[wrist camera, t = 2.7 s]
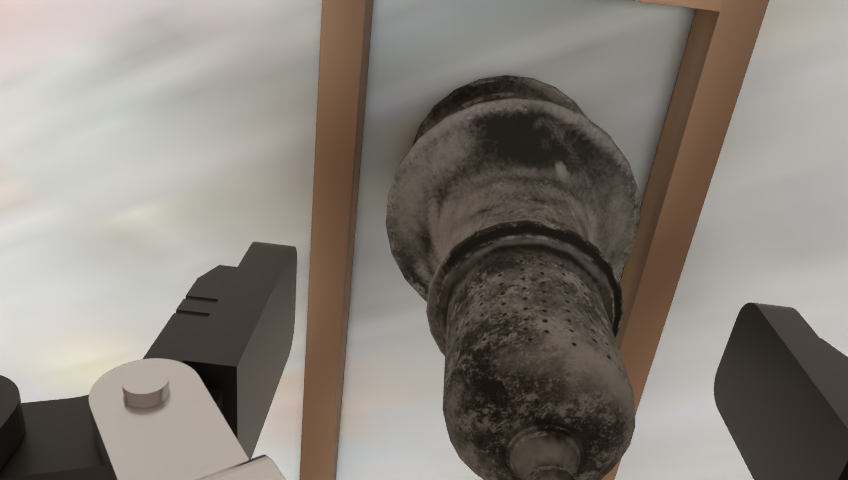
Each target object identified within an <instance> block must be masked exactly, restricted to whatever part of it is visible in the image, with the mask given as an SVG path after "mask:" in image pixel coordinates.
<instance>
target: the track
mask: <svg viewBox="0 0 848 480" xmlns="http://www.w3.org/2000/svg"><path fill="white" fill-rule="evenodd" d="M635 1H642V2H650V3H658V4H666V5H674V6H681V7H689V8H697V9H696V12H695V16H694V20H693V23H692V27H691V30H690V34H689V37H688V41H687V45H686V48H685V52H684V55H683V59H682V63H681V66H680V70H679V73H678V77H677V80H676V84H675V88H674V91H673V95H672V98H671V102H670V105H669V109H668V113H667V116H666V120H665V123H664V127H663V130H662V134H661V138H660V141H659V145H658V148H657V152H656V156H655V159H654V163H653V166H652V170H651V173H650V177H649V181H648V184H647V188H646V191H645V195H644V198H643V202H642V206H641V209H640V224H639V228H638V232H637V236H636V239H635V243H634V247H633V251H632V253H631V255H630V257H629V258H628V260H627V262H626V264H625V266H624V270H623V274H622V277H621V281H620V287H621V289H622V300H623V315H622V319H621V323H620V327H619V331H618V335H617V336H616V338H615V339H616V342H617V345H618V348H619V351H620V354H621V356H622V359H623V362H624V365H625V368H626V371H627V374H628V377H629V380H630V383H631V386H632V389H633V391H634V404H635V414H636V411H637V408H638V405H639V402H640V399H641V396H642V393H643V389H644V386H645V383H646V380H647V377H648V374H649V371H650V368H651V365H652V362H653V358H654V355H655V352H656V349H657V346H658V343H659V340H660V337H661V334H662V331H663V327H664V324H665V321H666V318H667V315H668V312H669V309H670V306H671V303H672V300H673V297H674V293H675V290H676V287H677V284H678V281H679V278H680V275H681V272H682V269H683V266H684V262H685V259H686V256H687V253H688V250H689V247H690V244H691V241H692V238H693V235H694V231H695V228H696V225H697V222H698V219H699V216H700V213H701V210H702V207H703V204H704V200H705V197H706V194H707V191H708V188H709V185H710V182H711V179H712V176H713V173H714V170H715V166H716V163H717V160H718V157H719V154H720V151H721V148H722V145H723V142H724V139H725V135H726V132H727V129H728V126H729V123H730V120H731V117H732V114H733V111H734V108H735V104H736V101H737V98H738V95H739V92H740V89H741V86H742V83H743V80H744V77H745V74H746V70H747V67H748V64H749V61H750V58H751V55H752V52H753V49H754V46H755V43H756V39H757V36H758V33H759V30H760V27H761V24H762V21H763V18H764V15H765V12H766V8H767V5H768V2H769V0H635ZM372 10H373V0H322V18H321V39H320V60H319V81H318V102H317V123H316V144H315V166H314V187H313V208H312V229H311V250H310V271H309V292H308V314H307V335H306V356H305V377H304V398H303V419H302V440H301V462H300V480H336V468H337V455H338V442H339V429H340V417H341V404H342V391H343V379H344V366H345V353H346V341H347V328H348V315H349V302H350V290H351V277H352V264H353V252H354V239H355V226H356V214H357V201H358V188H359V175H360V163H361V150H362V137H363V125H364V112H365V99H366V87H367V74H368V61H369V48H370V36H371V23H372ZM620 461H621V459H620ZM620 461H619V462H618V463H617V464H616V466H615V467H614V468H613V469H612V470H611V471H610V472H609V473H608V474H607V475H606V476H604V477H603V478H602V479H601V480H614V479H615V476H616V473H617V470H618V467H619V464H620Z"/></svg>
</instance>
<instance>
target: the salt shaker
mask: <svg viewBox="0 0 848 480" xmlns="http://www.w3.org/2000/svg"><path fill="white" fill-rule="evenodd" d="M639 224H640V211H639V191H638V188H637V185H636V182H635V179H634V176H633V174H632V171H631V168H630V165H629V162H628V161H627V159H626V158H625V156H624V155H623V154H622V152H621V151H620V150H619V148H618V147H617V146H616V144H615V143H614V141H613V140H612V139H611V137H610V136H609V135H608V134H607V133H606V132H604V131H603V130H602V129H600V128H599V127H598V126H596V125H595V124H594V123H592V122H591V121H590V120H589V119H587V118H586V116H585V115H584V114H583V112H582V111H581V110H580V108H579V107H578V105H577V104H576V103H575V102H574V101H572V100H571V99H570V98H568V97H567V96H566V95H565V94H563V93H562V92H561V91H559V90H558V89H557V88H555V87H552V86H550V85H547V84H545V83H542V82H540V81H537V80H535V79H532V78H525V77H515V76H506V75H505V76H498V77H492V78H485V79H479V80H477V81H474V82H472V83H470V84H468V85H465V86H463V87H461V88H458V89H456V90H454V91H453V92H452V93H451V94H449V95H448V96H447V97H446V98H444V99H443V100H442V101H440V102H439V103H438V104H437V105H435V106H434V108H433V109H432V111H431V112H430V113H429V115H428V116H427V117H426V119H425V120H424V121H423V123H422V124H421V125H420V127H419V130H418V133H417V135H416V138H415V140H414V143H413V146H412V148H411V150H410V151H409V152H408V154H407V155H406V156H405V158H404V159H403V160H402V162H401V163H400V165H399V167H398V170H397V173H396V175H395V178H394V180H393V183H392V186H391V188H390V191H389V194H388V204H387V216H386V228H387V233H388V238H389V242H390V247H391V252H392V255H393V257H394V259H395V261H396V262H397V264H398V266H399V268H400V270H401V272H402V274H403V276H404V278H405V279H406V280H407V282H408V283H409V284H410V285H411V286H412V287H413V288H414V289H415V290H416V291H417V292H418V293H419V294H420V295H421V297H422V298H423V299H424V300H425V301H427V311H426V312H427V317H428V321H429V326H430V331H431V334H432V336H433V338H434V340H435V341H436V343H437V345H438V347H439V349H440V351H441V352H442V353H443V354H444V356H445V373H444V396H443V412H444V417H445V422H446V427H447V431H448V434H449V438H450V441H451V443H452V445H453V447H454V448H455V450H456V452H457V454H458V455H459V457H460V459H461V460H462V461H463V462H464V463H465V464H466V465H467V466H468V467H469V468H470V469H471V470H472V471H473V472H474V473H475V474H477V475H478V476H480V477H481V478H482V479H484V480H601V479H602V478H603V477H604V476H606V475H607V474H608V473H609V472H610V471H611V470H612V469H613V468H614V467H615V466H616V464H617V463H618V462H619V461H620V459H621V458H622V456H623V455H624V453H625V452H626V450H627V448H628V447H629V445H630V442H631V439H632V435H633V432H634V428H635V404H634V391H633V389H632V386H631V383H630V380H629V377H628V374H627V371H626V368H625V365H624V362H623V359H622V356H621V354H620V351H619V348H618V345H617V342H616V339H615V338H616V336H617V335H618V331H619V327H620V323H621V319H622V315H623V300H622V289H621V287H620V284H619V281H618V279H617V277H618V276H619V274H620V272H621V270H622V269H623V267H624V265H625V264H626V262H627V260H628V258H629V257H630V255H631V253H632V251H633V247H634V243H635V239H636V236H637V232H638V228H639Z"/></svg>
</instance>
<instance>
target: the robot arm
mask: <svg viewBox="0 0 848 480" xmlns="http://www.w3.org/2000/svg"><path fill="white" fill-rule="evenodd" d="M296 273H297V251H296V247H294V246H286V245H278V244H269V243H261V242H253V243H252V244H251V246H250V247H249V249H248V251H247V252H246V254H245V256H244V257H243V259H242V261H241V262H240V264H239V266H238V267H231V266H223V265H219V266H217V267H216V268H214V269H212V270H211V271H209V272H207V273H206V274H204V275H202V276H201V277H199V278H198V279H197V280H196V282H195V283H194V284H193V286H192V287H191V289H190V290H189V292H188V293H187V295H186V299H183V301H182V302H181V304H180V305H179V306H178V308H177V309H176V313H174V314H173V315H172V317H171V318H170V320H169V321H168V323H167V324H166V326H165V327H164V329H163V330H162V331H161V333H160V334H159V336H158V337H157V339H156V340H155V342H154V343H153V345H152V346H151V348H150V349H149V351H148V352H147V354H146V355H145V356H144V358H143V359H141V360H137V361H132V362H129V363H125V364H123V365H120V366H118V367H116V368H114V369H112V370H110V371H108V372H107V373H105V374H104V375H103V376H101V377H100V378H99V379H98V380H97V381H96V382H95V384H94V385H93V387H92V388H91V391H90V393H89V395H86V396H82V397H76V398H69V399H59V400H49V401H39V402H29V403H21V399H20V394H19V390H18V387H17V386H16V385H15V383H14V382H12V381H11V380H10V379H8V378H6V377H4V376H1V375H0V480H286V479H285V478H284V476H283V475H282V473H281V472H280V470H279V468H278V467H277V465H276V464H275V463H274V461H273V460H272V459H271V458H269V457H268V456H266V455H261V456H258V457H256V458H253V459H251V458H252V455H253V452H254V449H255V447H256V444H257V441H258V438H259V436H260V433H261V430H262V428H263V425H264V422H265V419H266V417H267V414H268V411H269V408H270V406H271V403H272V400H273V397H274V395H275V392H276V389H277V387H278V384H279V381H280V378H281V376H282V373H283V370H284V367H285V365H286V362H287V359H288V356H289V353H290V349H291V345H292V340H293V333H294V324H295V301H296ZM714 397H715V402H716V406H717V408H718V410H719V412H720V414H721V416H722V418H723V420H724V422H725V424H726V426H727V428H728V430H729V432H730V434H731V436H732V438H733V440H734V441H735V443H736V445H737V447H738V449H739V451H740V453H741V455H742V457H743V459H744V461H745V463H746V465H747V467H748V469H749V471H750V473H751V475H752V477H753V479H754V480H848V357H847V356H845V355H844V354H842V353H841V352H840V351H838V350H837V349H835V348H834V347H833V346H831V345H830V344H828V343H827V342H826V341H824V340H823V339H821V338H819V337H818V336H817V334H816V333H815V332H814V331H813V329H812V328H811V327H810V326H809V325H808V323H807V322H806V321H805V320H804V319H803V317H802V316H801V315H800V314H799V313H798V311H797V310H795V309H794V308H791V307H783V306H775V305H766V304H758V303H747V304H745V305H744V306H743V307H742V308H741V310H740V312H739V314H738V316H737V319H736V322H735V324H734V327H733V330H732V332H731V335H730V337H729V340H728V343H727V345H726V348H725V351H724V353H723V356H722V359H721V361H720V364H719V367H718V369H717V372H716V376H715V382H714Z"/></svg>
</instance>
